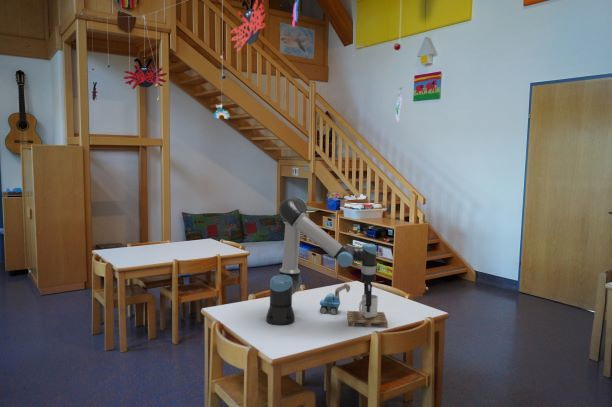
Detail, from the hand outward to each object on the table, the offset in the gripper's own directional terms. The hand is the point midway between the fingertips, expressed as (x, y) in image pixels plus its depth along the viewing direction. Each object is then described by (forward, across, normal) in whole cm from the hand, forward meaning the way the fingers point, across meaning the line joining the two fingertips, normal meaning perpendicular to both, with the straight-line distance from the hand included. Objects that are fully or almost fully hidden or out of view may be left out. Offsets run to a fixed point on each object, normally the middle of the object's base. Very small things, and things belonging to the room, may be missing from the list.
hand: (366, 314), depth 263 cm
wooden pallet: (+4, 0, 0) cm, 4 cm away
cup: (0, -1, 0) cm, 1 cm away
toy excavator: (+4, +14, +17) cm, 22 cm away
